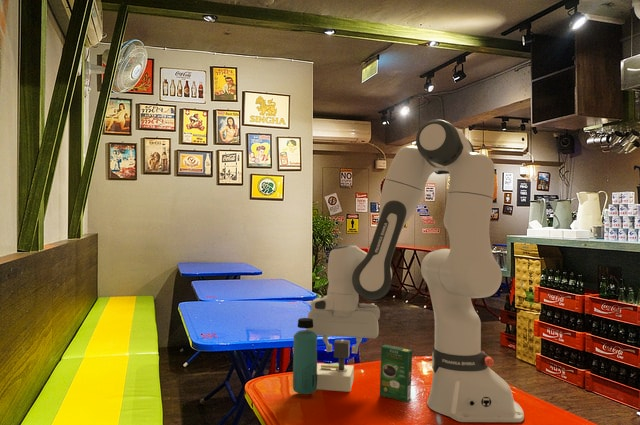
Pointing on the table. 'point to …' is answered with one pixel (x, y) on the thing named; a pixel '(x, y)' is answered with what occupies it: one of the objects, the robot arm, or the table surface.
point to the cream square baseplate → (335, 378)
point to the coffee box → (395, 373)
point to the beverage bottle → (305, 358)
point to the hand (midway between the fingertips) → (341, 352)
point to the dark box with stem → (340, 353)
